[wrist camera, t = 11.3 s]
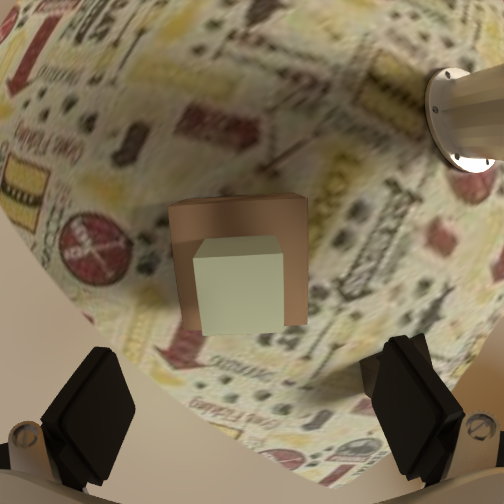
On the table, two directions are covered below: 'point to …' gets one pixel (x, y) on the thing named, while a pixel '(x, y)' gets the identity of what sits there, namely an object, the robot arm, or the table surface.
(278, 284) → the sage block
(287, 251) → the walnut block
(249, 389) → the table surface
